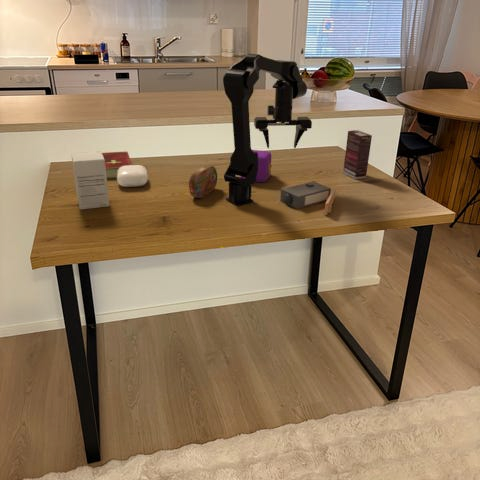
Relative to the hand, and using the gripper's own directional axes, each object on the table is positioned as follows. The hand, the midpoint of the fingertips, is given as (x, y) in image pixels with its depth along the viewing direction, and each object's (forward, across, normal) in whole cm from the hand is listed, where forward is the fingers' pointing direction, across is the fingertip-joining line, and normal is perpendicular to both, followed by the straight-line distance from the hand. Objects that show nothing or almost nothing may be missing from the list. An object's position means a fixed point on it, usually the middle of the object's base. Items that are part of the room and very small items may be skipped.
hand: (281, 147), depth 164 cm
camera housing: (+12, -5, +18) cm, 23 cm away
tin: (+12, +27, +11) cm, 32 cm away
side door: (+12, -12, +25) cm, 30 cm away
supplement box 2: (+13, -29, -6) cm, 32 cm away
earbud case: (+12, +51, 0) cm, 53 cm away
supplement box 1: (+11, +61, +19) cm, 65 cm away
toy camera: (+12, +8, -5) cm, 16 cm away
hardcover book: (+12, +60, -16) cm, 63 cm away
